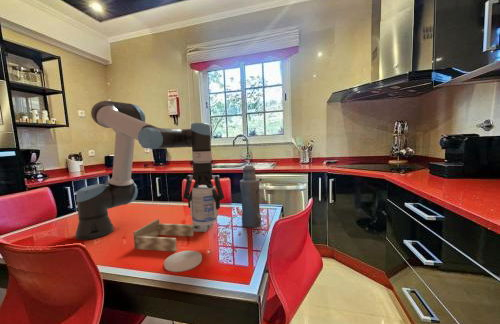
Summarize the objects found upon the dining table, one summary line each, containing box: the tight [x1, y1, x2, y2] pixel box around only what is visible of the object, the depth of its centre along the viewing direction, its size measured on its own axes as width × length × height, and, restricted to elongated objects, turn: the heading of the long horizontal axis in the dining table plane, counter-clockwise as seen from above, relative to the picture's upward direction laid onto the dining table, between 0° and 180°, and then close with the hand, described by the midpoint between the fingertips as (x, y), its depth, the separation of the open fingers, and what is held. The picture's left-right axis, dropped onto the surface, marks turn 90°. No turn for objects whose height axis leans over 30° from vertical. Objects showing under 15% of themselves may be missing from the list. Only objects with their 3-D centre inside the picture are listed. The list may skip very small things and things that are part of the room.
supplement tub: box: [191, 185, 217, 225], centre depth 91 cm, size 10×10×15 cm
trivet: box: [163, 250, 203, 273], centre depth 79 cm, size 13×13×1 cm
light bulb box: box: [191, 216, 214, 233], centre depth 110 cm, size 11×7×11 cm, turn 168°
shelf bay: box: [132, 218, 194, 253], centre depth 96 cm, size 18×15×7 cm
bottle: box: [239, 164, 262, 228], centre depth 111 cm, size 10×10×30 cm
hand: (204, 216), depth 91 cm, fingers closed on supplement tub, 9 cm apart
